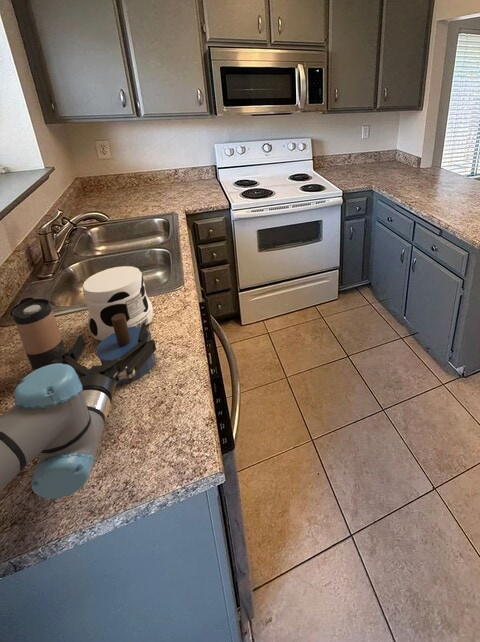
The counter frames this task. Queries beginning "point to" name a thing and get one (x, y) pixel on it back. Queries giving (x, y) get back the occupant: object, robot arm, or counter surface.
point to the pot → (142, 371)
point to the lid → (118, 339)
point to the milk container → (116, 300)
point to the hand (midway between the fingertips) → (114, 333)
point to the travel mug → (39, 332)
